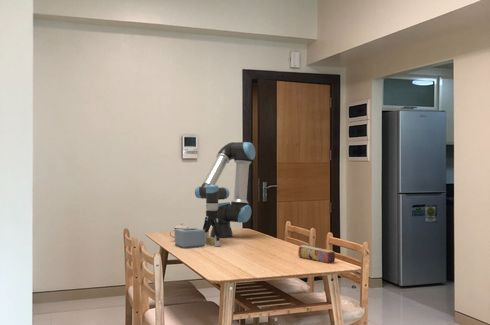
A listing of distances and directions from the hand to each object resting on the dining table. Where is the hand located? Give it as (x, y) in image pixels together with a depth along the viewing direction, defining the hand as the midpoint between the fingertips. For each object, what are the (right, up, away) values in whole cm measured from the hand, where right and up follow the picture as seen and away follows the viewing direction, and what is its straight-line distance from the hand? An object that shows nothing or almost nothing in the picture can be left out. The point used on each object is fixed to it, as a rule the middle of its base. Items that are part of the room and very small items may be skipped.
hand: (211, 244), depth 316 cm
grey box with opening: (-13, 0, -5) cm, 14 cm away
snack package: (+58, -1, -46) cm, 74 cm away
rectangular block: (0, 0, 0) cm, 0 cm away
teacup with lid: (-22, 0, +13) cm, 25 cm away
